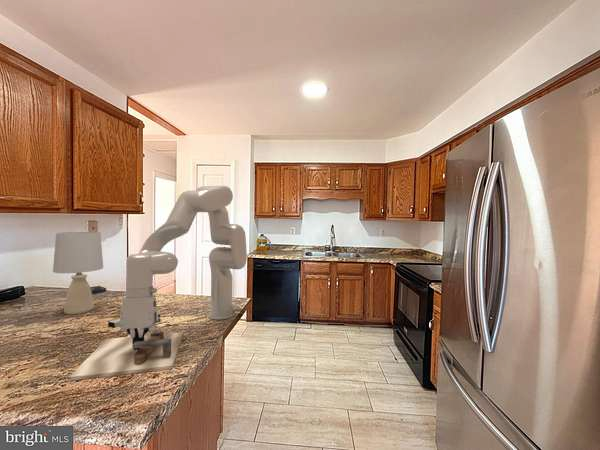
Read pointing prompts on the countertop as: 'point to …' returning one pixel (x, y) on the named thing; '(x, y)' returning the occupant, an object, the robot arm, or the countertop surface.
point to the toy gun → (117, 322)
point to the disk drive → (97, 289)
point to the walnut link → (147, 349)
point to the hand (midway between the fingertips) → (138, 348)
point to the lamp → (78, 266)
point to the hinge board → (129, 356)
